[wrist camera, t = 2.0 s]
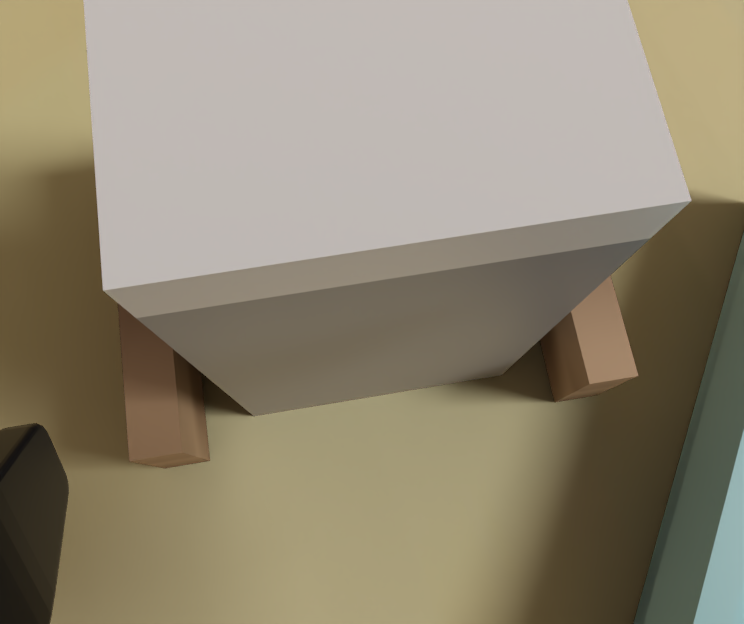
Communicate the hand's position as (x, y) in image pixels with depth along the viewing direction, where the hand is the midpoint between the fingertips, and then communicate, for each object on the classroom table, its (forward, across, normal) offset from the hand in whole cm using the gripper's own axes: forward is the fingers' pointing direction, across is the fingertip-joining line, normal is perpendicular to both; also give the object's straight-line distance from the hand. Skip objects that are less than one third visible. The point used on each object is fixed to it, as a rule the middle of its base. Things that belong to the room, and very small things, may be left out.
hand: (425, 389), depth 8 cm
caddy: (+10, 0, +5) cm, 11 cm away
